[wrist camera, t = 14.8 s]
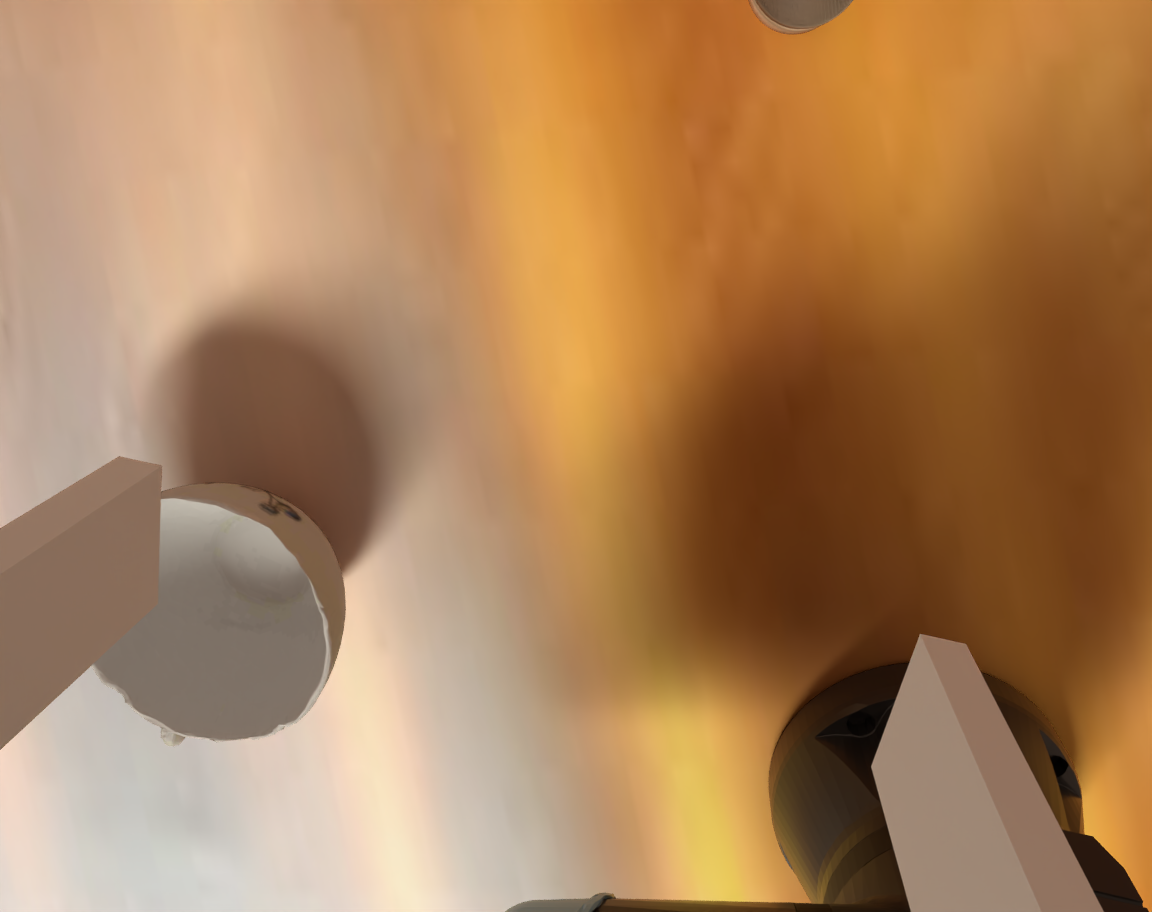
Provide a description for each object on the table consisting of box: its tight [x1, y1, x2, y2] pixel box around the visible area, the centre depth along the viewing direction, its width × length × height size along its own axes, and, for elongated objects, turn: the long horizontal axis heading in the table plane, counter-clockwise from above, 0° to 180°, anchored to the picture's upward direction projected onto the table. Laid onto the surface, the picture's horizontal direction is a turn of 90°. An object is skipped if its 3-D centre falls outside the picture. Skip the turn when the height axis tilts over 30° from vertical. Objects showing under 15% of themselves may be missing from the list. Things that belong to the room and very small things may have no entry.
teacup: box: [91, 483, 346, 747], centre depth 46 cm, size 15×12×8 cm
